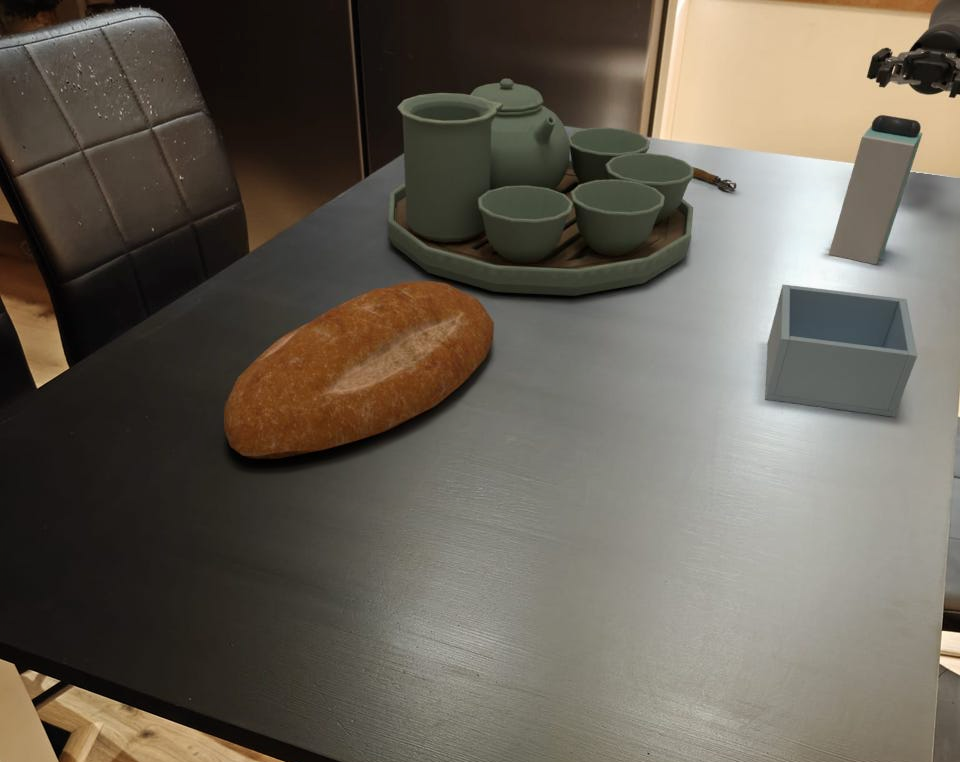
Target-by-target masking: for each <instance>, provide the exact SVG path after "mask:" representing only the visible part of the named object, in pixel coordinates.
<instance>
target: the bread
mask: <svg viewBox="0 0 960 762" xmlns="http://www.w3.org/2000/svg"><path fill="white" fill-rule="evenodd" d="M494 331H495V322H494V321H493V319H492V317H491V316H490V314H489V313H488V311H487V310H486V308H485V306H484V305H483V303H481V301H480V300H479V299H478V298H477V297H475V296H472V295H470V294H469V293H466V292H464V291H462V290H460V289H459V288H456V287H454V286H452V285H450V284H448V283H445V282H439V281H432V280H423V281H421V280H419V281H404V282H401V283H397V284H394V285H391V286H388V287H380V288H379V287H378V288H377V287H376V288H374V289H372V290H369V291H367V292H365V293H362V294H361V295H358V296H356V297H353V298H352V299H349V300H347V301H345V302H343V303H341V304H339V305H337V306H336V307H333V308H331V309H330V310H328V311H326V312H324V313H322V314H321V315H319V316H317V317H316V318H314V319H312V320H311V321H309V322H307V323H305V324H303V325H301V326H299V327H298V328H295V329H293V330H292V331H289V332H287V333H286V334H284V335H283V336H282V337H280V338H279V339H278V340H276V341H275V342H273V344H271V345H270V346H269V347H268V348H266V350H265V351H263V353H261V354H260V355H259V356H257V358H256V359H255V360H253V362H252V363H251V364H250V365H249V366H248V367H247V368H246V369H244V371H243V372H242V373H241V374H240V375H239V376H238V377H237V379H236V381H235V383H234V386H233V388H232V389H231V392H230V394H229V396H228V397H227V400H226V402H225V404H224V406H223V430H224V432H225V436H226V438H227V441H228V444H229V447H230V448H232V450H234V451H235V452H237V453H238V454H240V455H241V456H243V457H247V458H249V459H253V460H259V459H260V460H277V459H278V460H279V459H283V458H288V457H294V456H298V455H299V456H300V455H304V454H311V453H314V452H315V453H316V452H319V451H320V452H321V451H324V450H325V451H326V450H328V449H332V448H335V447H339V446H343V445H346V444H351V443H353V442H356V441H359V440H363V439H366V438H369V437H372V436H376V435H379V434H381V433H384V432H386V431H389V430H391V429H393V428H395V427H398V426H399V425H401V424H403V423H405V422H408V421H409V420H411V419H413V418H414V417H417V416H419V415H420V414H423V413H424V412H426V411H428V410H430V409H432V408H435V407H436V406H437V405H439V404H440V403H441V402H442V401H444V399H446V398H447V397H448V396H450V395H451V394H452V393H453V392H454V391H455V390H456V389H458V388H459V387H460V386H462V385H463V384H464V383H465V382H466V381H467V380H469V378H470V377H471V376H472V374H473V373H474V372H475V371H476V370H477V368H478V367H479V366H480V365H481V363H483V362H484V360H485V359H486V358H487V356H488V354H489V351H490V349H491V347H492V344H493V341H494V333H495V332H494Z"/></svg>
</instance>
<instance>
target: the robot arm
mask: <svg viewBox="0 0 960 762" xmlns="http://www.w3.org/2000/svg"><path fill="white" fill-rule="evenodd" d="M893 53H894V52H893V51H892V49H891V48H889V47H883V48H881V49H879V50H878V51H877V52H876V53H874V54H873V55H872V56H871V58H870V59H871V60H870V63H869V66H868V70H867V75H866V78H867V79H869V80H875V83H876V84H878V88H883V89H884V88H886V87H887V86H888V84H890V82H891V83H893V84H895V85H898V86H899V85H909V87H910V88H911V89H912V90H914V91H915V92H917V93H918V94H922V95H926V96H932V95H937V94H941V93H943V92H949V95H948V98H951V99H955V98H956V97H957V96H960V0H939V1H938V2H936V4H935V6H934V7H933V8H932V11H931V15H930V17H929V22H928V27H927V29H926V30H925V31H924V32H923V33H922V34H921V35H920V37H919V38H918V39H917V40H916V41H915V42H914V43H913V45H912V46H911V47H910V49H909V50H908V51H903V52H900V53H898V55H897V56H895V55H893Z"/></svg>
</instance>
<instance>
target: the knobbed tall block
mask: <svg viewBox="0 0 960 762" xmlns="http://www.w3.org/2000/svg"><path fill="white" fill-rule="evenodd" d="M921 128H922V127H921V123H920V122H919V121H917V120H916V119H909V118H903V117H897V116H891V115H886V114H882V115H881V114H880V115H878V116H876V117H874V119H873V120H872V123H871V125H870V127H868V129H867V130H866V132H865V133H864V134H863V136H862V137H861V139H860V143H859V146H858V150H857V153H856V156H855V161H854V164H853V167H852V171H851V174H850V178H849V182H848V185H847V189H846V192H845V196H844V199H843V203H842V206H841V210H840V213H839V217H838V221H837V224H836V228H835V230H834V234H833V237H832V241H831V242H832V243H831V245H830V247H829V252H828V255H829V256H834V257H839V258H844V259H849V260H853V261H858V262H862V263H866V264H867V263H868V264H872V265H877V263H878V262H879V260H880V258H881V256H882V255H883V253H884V251H885V250H886V247H887V244H888V241H889V238H890V235H891V232H892V229H893V226H894V223H895V220H896V216H897V213H898V211H899V207H900V204H901V200H902V198H903V195H904V193H905V189H906V186H907V183H908V180H909V176H910V174H911V170H912V167H913V164H914V161H915V158H916V155H917V152H918V148H919V146H920V143H921V140H922V137H923V132H921Z"/></svg>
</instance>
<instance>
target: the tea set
mask: <svg viewBox="0 0 960 762" xmlns="http://www.w3.org/2000/svg"><path fill="white" fill-rule="evenodd" d="M543 104H544V99H543V96H542V94H541V93H540V92H539V91H538V90H537V89H535V88H533V87H531V86H529V85H525V84H519V83H515V82H514V81H513V80H512V79H510V78H503V79H501V81H499V82H494V83H487V84H484V85H481V86H478V87H476V88H474V89H473V91H472V92H471V93H470V94H465V93H450V92H449V93H448V92H437V93H427V94H419V95H418V94H417V95H415V96H412V97H408V98H406V99H403V100H402V101H401V102H400V103H399V105H397V110H398V111H399V112H400V114H401V115H402V131H403V132H402V133H403V134H402V135H403V160H404V183H403V184H401V185H400V186H398V187H396V188H395V189H393V190H392V191H391V192H390V193H389V197H388V200H389V201H388V221H387V225H388V227H387V228H388V237H389V239H390V241H391V244H392V245H393V247H395V248H396V249H397V250H399V252H401V253H403V254H404V255H405V256H406V257H407V258H409V259H410V260H412V261H413V262H414V263H415V264H417V265H418V266H419V267H420V268H422V269H423V270H424V271H425V272H427V273H429V274H432V275H435V276H438V277H443V278H446V279H449V280H453V281H455V282H460V283H463V284H466V285H470V286H474V287H477V288H481V289H484V290H487V291H490V292H494V293H515V294H533V295H534V294H535V295H551V296H552V295H553V296H571V297H572V296H575V297H576V296H581V295H586V294H591V293H592V294H593V293H597V292H603V291H609V290H614V289H620V288H625V287H626V288H627V287H631V286H637V285H642V284H643V285H644V284H645V283H646V282H648V281H650V280H652V279H654V278H655V277H656V276H659V275H660V274H661V273H663V272H664V271H666V270H668V269H669V268H671V267H672V266H674V265H676V264H678V263H680V262H681V261H683V260H684V258H685V257H686V255H687V254H688V252H689V249H690V246H691V245H690V243H691V239H692V230H693V217H694V206H692V205H691V204H690V203H689V202H687V200H685V199H684V198H683V197H684V195H685V193H686V190H687V188H688V185H689V184H690V182H691V181H692V180H693V178H694V176H693V174H694V168H693V167H694V166H692V165H690V164H689V163H688V162H687V161H685V160H683V159H680V158H676V157H673V156H670V155H666V154H660V153H659V154H658V153H649V152H648V151H649V149H650V145H651V144H650V143H651V141H650V140H649V139H648V138H647V137H645V136H644V135H642V134H641V133H638V132H635V131H631V130H628V129H623V128H615V127H588V128H584V129H580V130H575V131H573V132H572V133H570V135H568V132H567V129H566V128H565V125H564V124H563V123H564V122H562V121H561V119H560V118H559V117H558V116H557V114H556V113H555V112H553V110H550V109H549V108H547V107H546V106H544V105H543Z"/></svg>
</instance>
